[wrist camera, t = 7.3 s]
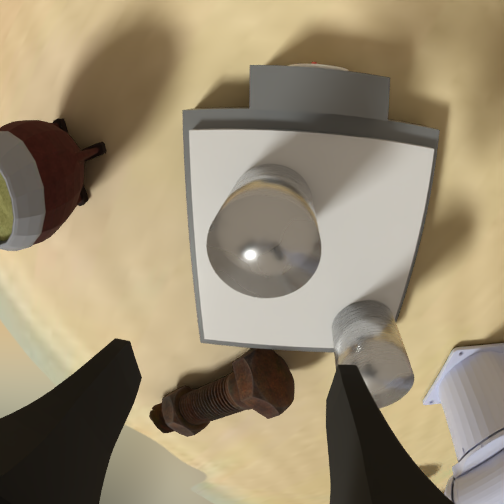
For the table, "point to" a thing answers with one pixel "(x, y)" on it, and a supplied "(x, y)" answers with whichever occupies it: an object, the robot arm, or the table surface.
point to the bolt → (229, 394)
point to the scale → (323, 193)
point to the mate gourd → (39, 180)
